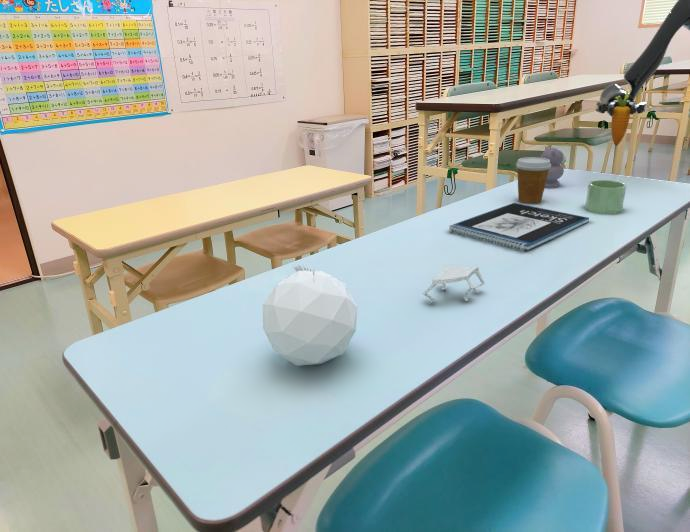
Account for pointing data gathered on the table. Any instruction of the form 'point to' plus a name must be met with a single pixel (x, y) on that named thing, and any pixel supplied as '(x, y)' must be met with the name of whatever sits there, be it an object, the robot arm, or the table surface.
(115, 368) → the table surface
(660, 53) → the robot arm
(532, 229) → the sketchbook
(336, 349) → the geodesic sphere
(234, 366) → the table surface
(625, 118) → the carrot
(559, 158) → the cat figurine
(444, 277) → the white legged piece
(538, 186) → the disposable coffee cup
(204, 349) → the table surface
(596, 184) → the green cup
